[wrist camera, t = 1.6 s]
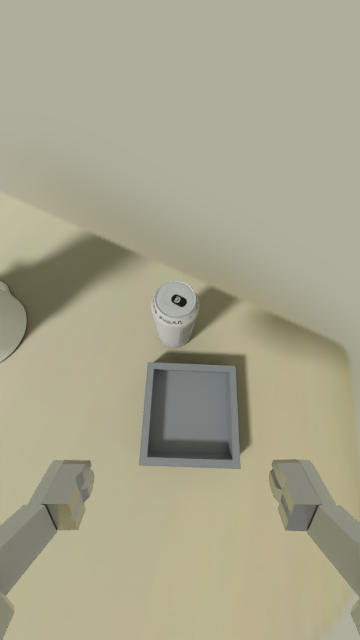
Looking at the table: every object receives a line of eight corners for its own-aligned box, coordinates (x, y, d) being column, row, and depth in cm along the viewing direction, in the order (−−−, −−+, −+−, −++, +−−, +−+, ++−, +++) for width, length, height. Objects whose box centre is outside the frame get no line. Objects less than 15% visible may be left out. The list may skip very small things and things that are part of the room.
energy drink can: (169, 311, 40) (166, 267, 25) (196, 327, 39) (210, 290, 25) (152, 338, 38) (139, 307, 24) (180, 355, 37) (185, 332, 23)
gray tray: (142, 457, 32) (139, 465, 28) (150, 364, 36) (148, 362, 33) (233, 460, 32) (240, 468, 29) (229, 368, 36) (235, 365, 33)
